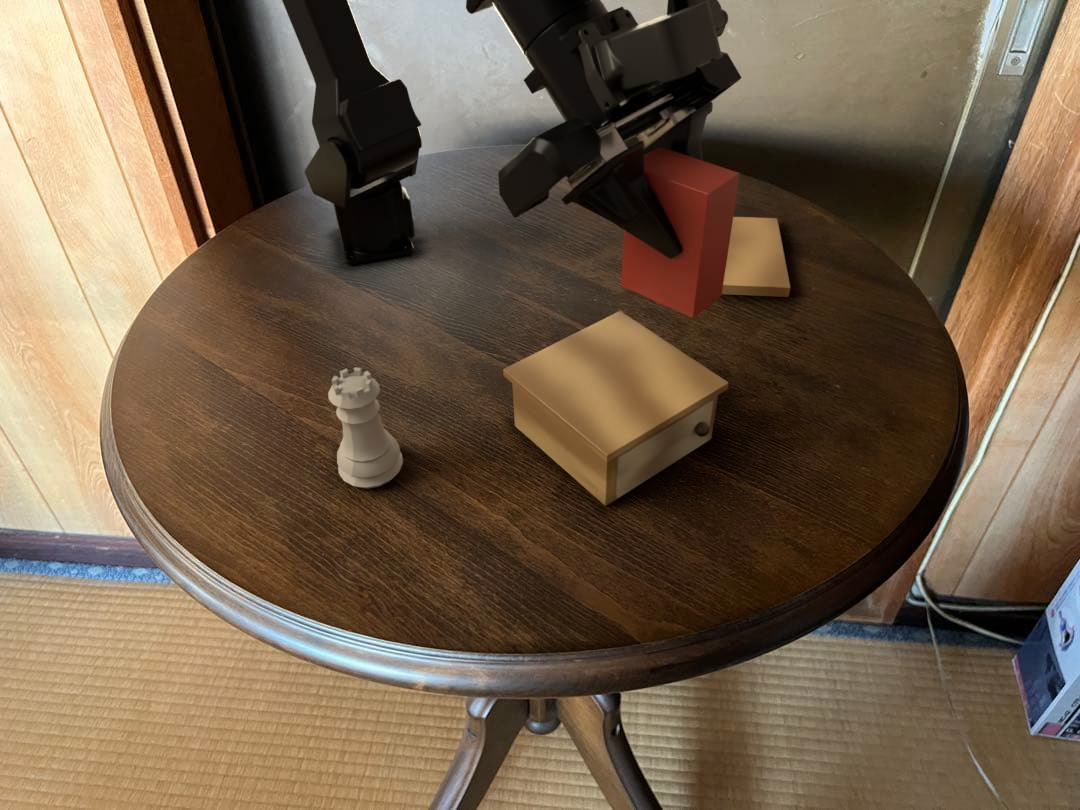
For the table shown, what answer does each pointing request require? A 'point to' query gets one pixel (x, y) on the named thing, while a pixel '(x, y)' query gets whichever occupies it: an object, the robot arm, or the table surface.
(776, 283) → the board
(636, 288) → the tall red upright block
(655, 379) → the cabinet
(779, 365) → the table surface
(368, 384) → the rook chess piece
